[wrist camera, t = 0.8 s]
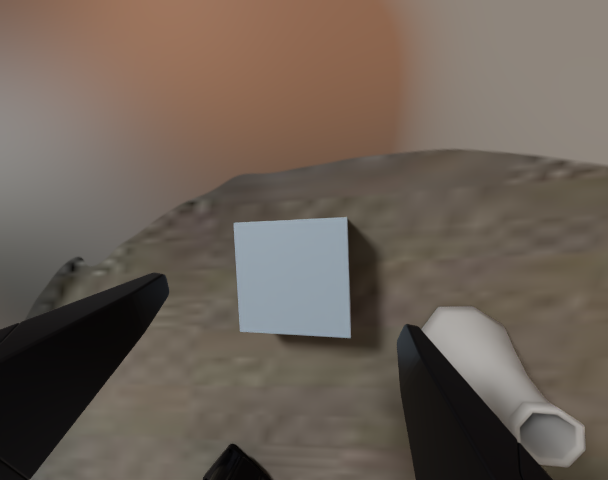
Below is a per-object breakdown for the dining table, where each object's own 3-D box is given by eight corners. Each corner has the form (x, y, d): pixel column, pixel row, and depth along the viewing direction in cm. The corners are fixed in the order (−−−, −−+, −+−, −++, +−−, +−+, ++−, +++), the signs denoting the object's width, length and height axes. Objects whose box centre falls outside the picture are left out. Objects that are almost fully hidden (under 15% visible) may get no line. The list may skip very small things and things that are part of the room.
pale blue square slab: (350, 325, 21) (350, 338, 19) (251, 320, 24) (239, 331, 21) (347, 218, 21) (346, 217, 18) (246, 223, 23) (233, 222, 21)
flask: (515, 316, 20) (664, 400, 11) (490, 389, 21) (609, 530, 11) (429, 294, 22) (492, 350, 12) (409, 363, 23) (453, 469, 13)
